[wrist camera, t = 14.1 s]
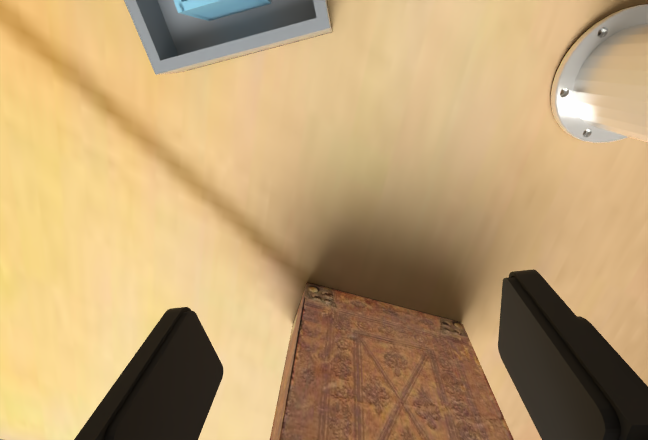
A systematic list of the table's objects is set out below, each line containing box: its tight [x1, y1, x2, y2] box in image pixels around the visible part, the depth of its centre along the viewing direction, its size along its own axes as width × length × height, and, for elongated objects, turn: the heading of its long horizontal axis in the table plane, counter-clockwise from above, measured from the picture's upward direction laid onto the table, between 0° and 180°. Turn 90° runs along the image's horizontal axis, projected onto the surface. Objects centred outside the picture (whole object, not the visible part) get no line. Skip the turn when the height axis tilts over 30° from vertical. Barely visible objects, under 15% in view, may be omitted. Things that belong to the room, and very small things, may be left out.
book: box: [270, 283, 513, 440], centre depth 36 cm, size 25×9×30 cm, turn 74°
